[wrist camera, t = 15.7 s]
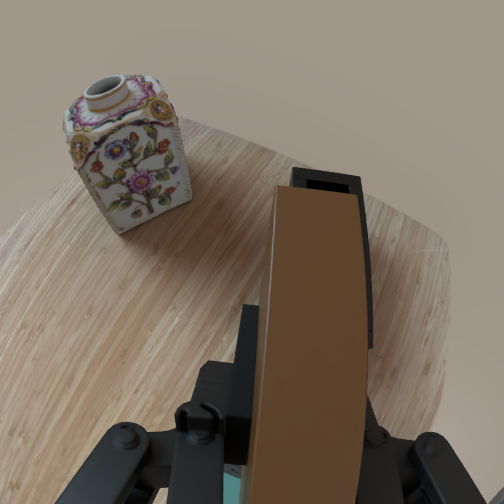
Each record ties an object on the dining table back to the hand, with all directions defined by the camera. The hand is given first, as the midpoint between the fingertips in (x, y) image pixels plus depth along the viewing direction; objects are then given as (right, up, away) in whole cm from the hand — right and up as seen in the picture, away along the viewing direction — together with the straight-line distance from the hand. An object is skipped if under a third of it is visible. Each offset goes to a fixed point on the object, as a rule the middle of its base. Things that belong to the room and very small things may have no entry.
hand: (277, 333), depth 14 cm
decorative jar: (-17, +13, +27) cm, 34 cm away
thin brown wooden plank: (0, -5, +1) cm, 5 cm away
